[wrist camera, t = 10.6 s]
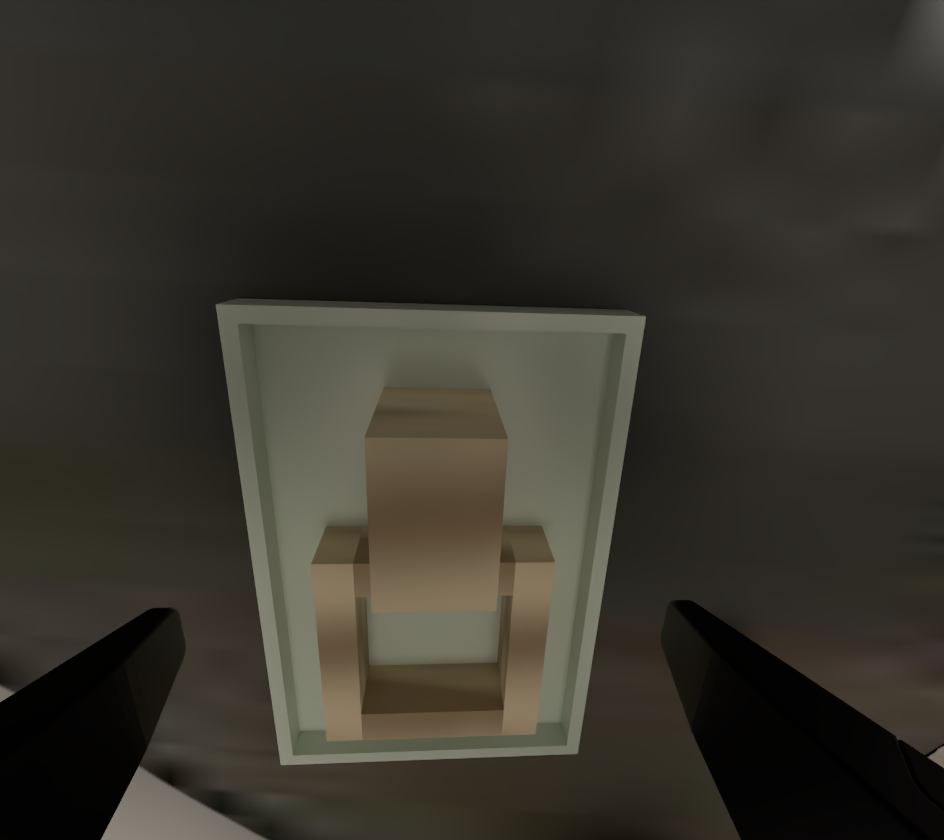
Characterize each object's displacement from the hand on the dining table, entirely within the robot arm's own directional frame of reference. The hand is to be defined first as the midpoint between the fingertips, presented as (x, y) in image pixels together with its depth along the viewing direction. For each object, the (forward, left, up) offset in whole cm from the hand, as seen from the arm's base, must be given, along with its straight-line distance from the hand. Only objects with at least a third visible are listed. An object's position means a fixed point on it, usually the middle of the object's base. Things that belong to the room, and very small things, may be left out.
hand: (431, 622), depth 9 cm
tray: (-6, 0, -11) cm, 12 cm away
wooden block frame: (-6, 0, -10) cm, 12 cm away
